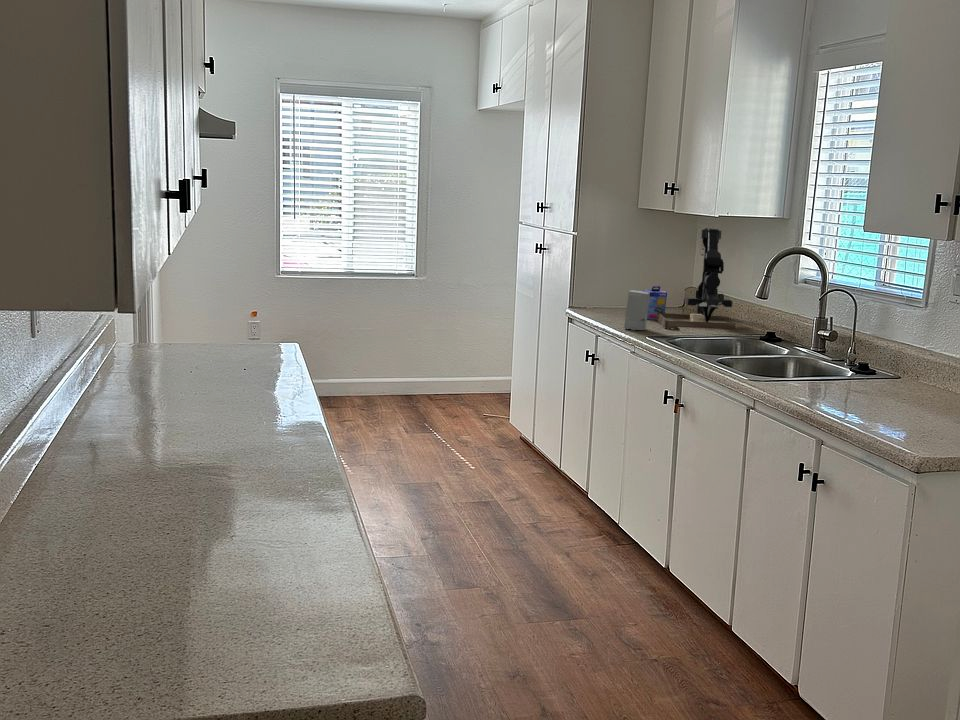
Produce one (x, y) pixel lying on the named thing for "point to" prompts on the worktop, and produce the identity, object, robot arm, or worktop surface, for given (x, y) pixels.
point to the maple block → (697, 317)
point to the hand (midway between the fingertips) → (706, 322)
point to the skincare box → (636, 310)
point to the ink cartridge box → (656, 302)
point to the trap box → (684, 320)
